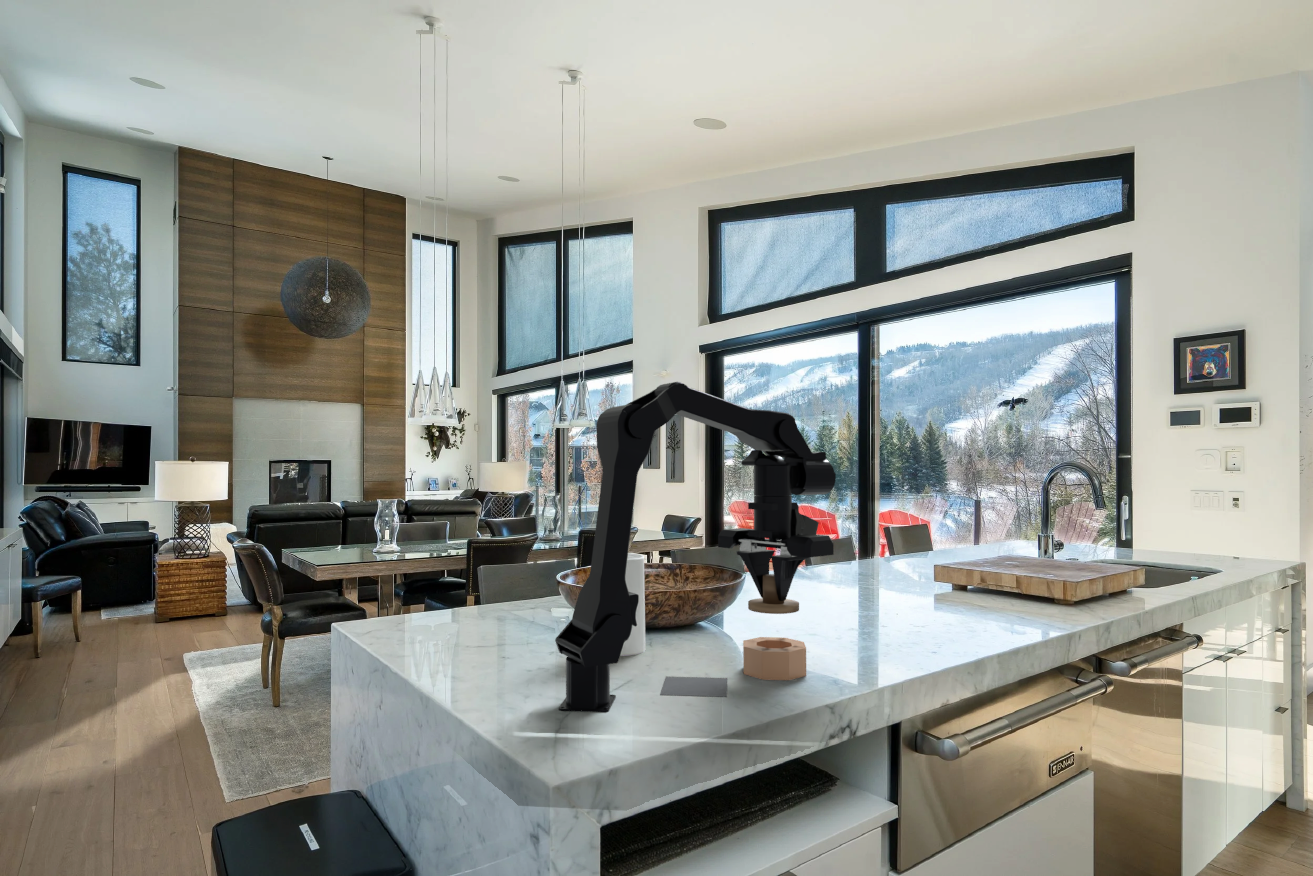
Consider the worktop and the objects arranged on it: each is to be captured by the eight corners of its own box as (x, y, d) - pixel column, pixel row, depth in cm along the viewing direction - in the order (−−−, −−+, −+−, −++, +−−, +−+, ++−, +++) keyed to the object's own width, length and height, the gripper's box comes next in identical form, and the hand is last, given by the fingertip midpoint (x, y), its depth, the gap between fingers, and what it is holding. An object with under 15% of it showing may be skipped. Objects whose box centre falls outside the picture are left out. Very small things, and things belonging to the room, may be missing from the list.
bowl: (808, 683, 109) (807, 652, 109) (743, 681, 110) (743, 650, 110) (802, 666, 118) (802, 638, 118) (743, 665, 119) (743, 636, 119)
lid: (801, 614, 110) (801, 579, 110) (748, 613, 111) (748, 579, 111) (796, 604, 118) (796, 572, 118) (747, 604, 119) (747, 571, 119)
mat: (726, 699, 101) (726, 696, 101) (659, 697, 102) (659, 694, 102) (727, 680, 110) (727, 678, 110) (665, 679, 111) (665, 676, 111)
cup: (638, 659, 123) (636, 560, 123) (590, 656, 125) (588, 559, 125) (650, 646, 131) (649, 553, 131) (605, 644, 133) (604, 552, 133)
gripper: (856, 496, 113) (857, 601, 112) (763, 493, 127) (764, 586, 127) (807, 498, 106) (808, 610, 105) (715, 494, 120) (715, 593, 120)
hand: (773, 599), depth 114 cm, fingers closed on lid, 3 cm apart
